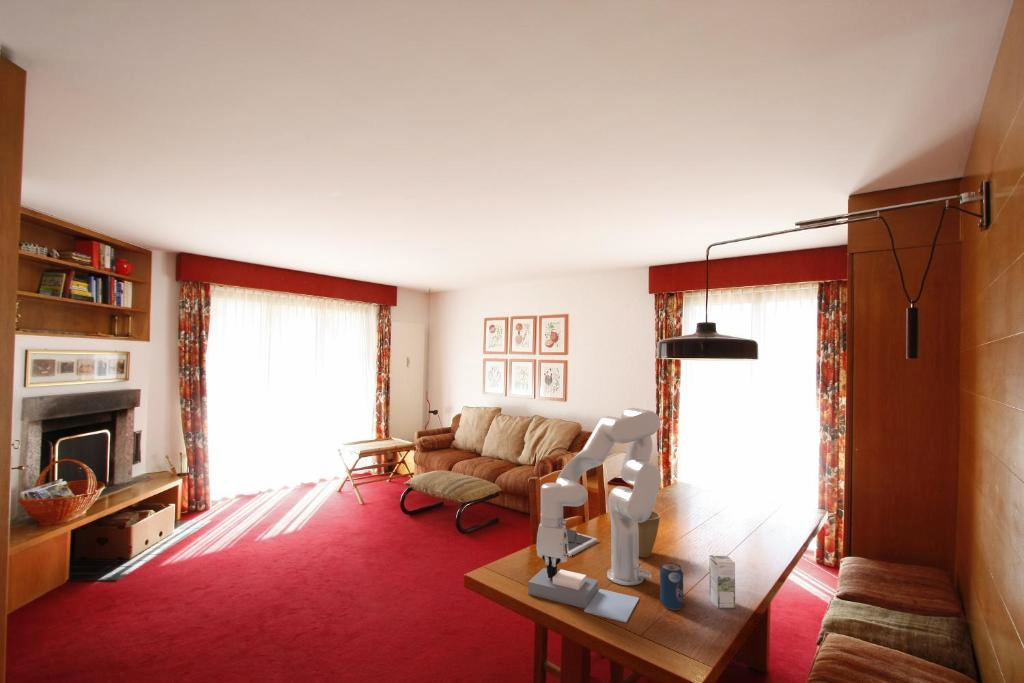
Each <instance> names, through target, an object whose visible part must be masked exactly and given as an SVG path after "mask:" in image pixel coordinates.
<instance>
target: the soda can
mask: <svg viewBox="0 0 1024 683" xmlns="http://www.w3.org/2000/svg"><path fill="white" fill-rule="evenodd" d="M682 570H683V569H682V568H681V565H679V564H677V563H675V562H674V563H673V562H664V563H662V564H661V568H660V569H659V588H660V589H659V594H660V595H659V600H660V602H661V604H662V606H663V607H664V608H666V609H669V610H673V611H674V610H675V611H676V610H677V611H678V610H680V609H682V607H683V606H684V603H685V602H684V572H683V571H682Z"/></svg>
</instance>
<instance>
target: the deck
mask: <svg viewBox="0 0 1024 683" xmlns="http://www.w3.org/2000/svg"><path fill="white" fill-rule="evenodd" d="M559 571H560V570H559ZM559 571H558V570H557V573H558V572H559ZM527 583H528V584H527V586H528V589H527V590H528V592H527V593H528V595H530V596H535V597H538V598H542V599H545V600H546V599H547V600H549V601H554V602H558V603H562V604H565V605H570V606H573V607H577V608H582V609H584V610H585V608H586V607H587V606H588V604H589V603H590V602H591V600H592V599H593V598H594V596H595V595H596V594H597V592H598V591H599V579H594V578H589V577H586V582H585V583H584V584H583V586H582V587H581V588H580V589H579V590H576V589H572V588H568V587H564V586H560V585H556V584H553V579H551V578H548V574H547V567H545V568H544V567H543V568H542V569H540V570H539V572H537V573H536V574H535V575H534V576H533V577H532V578H530V580H528V581H527Z"/></svg>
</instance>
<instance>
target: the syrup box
mask: <svg viewBox="0 0 1024 683" xmlns="http://www.w3.org/2000/svg"><path fill="white" fill-rule="evenodd" d="M708 556H709V557H708V558H709V559H708V560H709V563H708V564H709V566H708V567H709V568H708V569H709V576H708V578H709V601H710V602H711V603H712V604H713V605H714V606H715V607H716V609H736V563H735V561H734V559H732V558H731V557H730V556H729V555H727V554H723V555H722V554H710V555H708Z"/></svg>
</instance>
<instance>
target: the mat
mask: <svg viewBox="0 0 1024 683" xmlns="http://www.w3.org/2000/svg"><path fill="white" fill-rule="evenodd" d="M639 600H640V597H637V596H633V595H628V594H624V593H620V592H615V591H611V590H607V589H602V588H599V589H598V592H597V594H596V595H595V596H594V598H593V599H592V600H591V602H590V603H589V604H588V606H587V607H586V608H585V609H584V610H583V612H584V613H587V614H590V615H594V616H597V617H602V618H606V619H610V620H614V621H617V622H622V623H625V624H626V623H628V620H629V619H630V617H631V615H632V614H633V612H634V609H635V607H636V606H637V604H638V602H639Z"/></svg>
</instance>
